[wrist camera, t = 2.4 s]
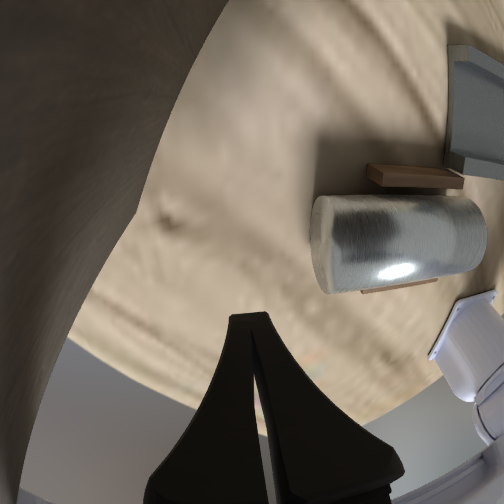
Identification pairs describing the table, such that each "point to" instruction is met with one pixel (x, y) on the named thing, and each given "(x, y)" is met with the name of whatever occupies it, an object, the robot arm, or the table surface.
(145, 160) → the wood block
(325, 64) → the table surface
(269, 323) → the robot arm
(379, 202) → the grey metal cylinder
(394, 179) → the brown piece
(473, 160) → the cradle
